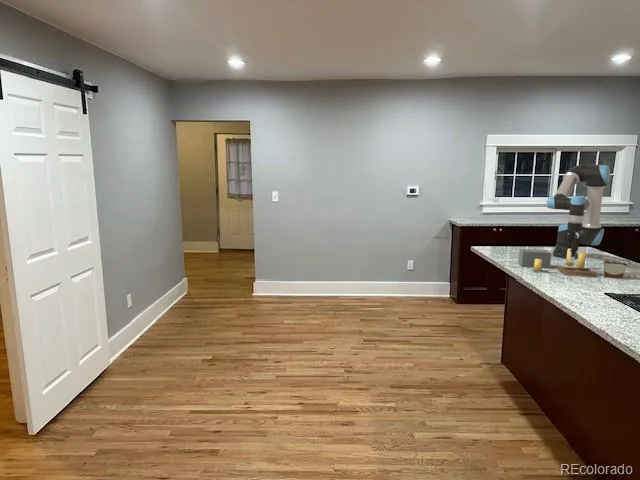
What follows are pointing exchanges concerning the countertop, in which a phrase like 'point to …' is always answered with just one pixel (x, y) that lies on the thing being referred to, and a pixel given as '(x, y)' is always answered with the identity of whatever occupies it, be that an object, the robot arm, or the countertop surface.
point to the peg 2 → (581, 260)
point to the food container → (614, 268)
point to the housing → (529, 257)
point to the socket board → (576, 271)
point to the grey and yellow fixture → (538, 267)
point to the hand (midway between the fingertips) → (570, 261)
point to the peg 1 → (568, 259)
